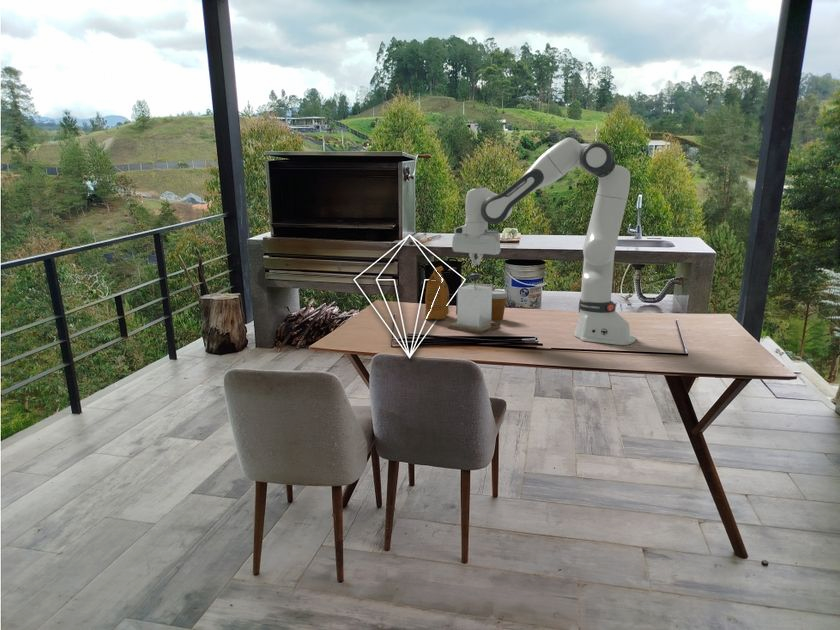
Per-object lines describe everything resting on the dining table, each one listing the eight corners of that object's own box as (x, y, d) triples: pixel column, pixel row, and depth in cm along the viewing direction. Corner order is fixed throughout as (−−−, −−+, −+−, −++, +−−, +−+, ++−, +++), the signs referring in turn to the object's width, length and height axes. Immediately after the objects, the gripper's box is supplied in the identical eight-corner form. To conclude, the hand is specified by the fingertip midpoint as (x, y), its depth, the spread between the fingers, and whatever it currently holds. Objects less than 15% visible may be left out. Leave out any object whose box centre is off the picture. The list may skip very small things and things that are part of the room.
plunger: (487, 318, 244) (488, 273, 240) (477, 322, 238) (478, 276, 234) (471, 316, 249) (472, 272, 245) (461, 319, 243) (462, 274, 239)
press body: (499, 327, 245) (501, 287, 242) (482, 334, 234) (483, 292, 231) (465, 321, 254) (466, 283, 251) (447, 328, 243) (448, 287, 240)
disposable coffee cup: (495, 316, 265) (495, 289, 262) (511, 319, 258) (512, 292, 255) (479, 319, 259) (480, 291, 257) (495, 323, 252) (496, 294, 249)
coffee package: (452, 315, 266) (452, 266, 261) (444, 321, 254) (444, 270, 249) (430, 314, 269) (431, 265, 264) (421, 320, 257) (422, 269, 252)
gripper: (503, 229, 232) (503, 265, 235) (458, 227, 244) (458, 261, 247) (496, 231, 227) (495, 267, 230) (450, 228, 239) (450, 263, 242)
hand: (475, 264), depth 239 cm, fingers closed
